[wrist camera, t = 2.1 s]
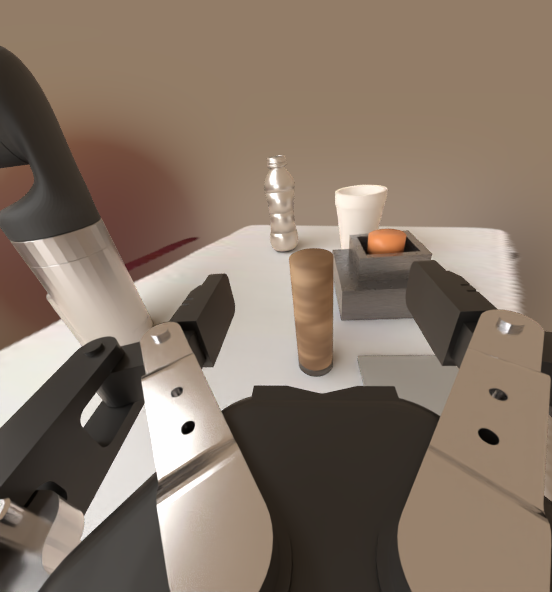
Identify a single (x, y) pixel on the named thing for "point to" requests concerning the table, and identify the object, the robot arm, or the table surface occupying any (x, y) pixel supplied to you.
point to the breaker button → (386, 241)
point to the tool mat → (411, 378)
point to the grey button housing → (374, 279)
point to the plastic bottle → (281, 204)
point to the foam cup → (359, 210)
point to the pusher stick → (313, 308)
